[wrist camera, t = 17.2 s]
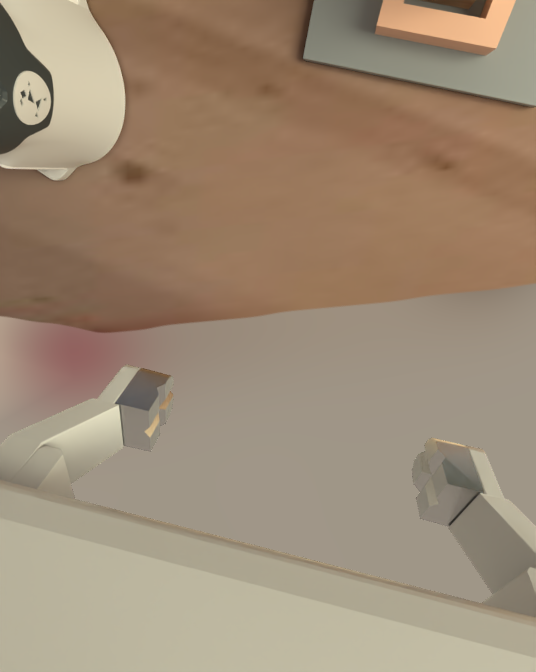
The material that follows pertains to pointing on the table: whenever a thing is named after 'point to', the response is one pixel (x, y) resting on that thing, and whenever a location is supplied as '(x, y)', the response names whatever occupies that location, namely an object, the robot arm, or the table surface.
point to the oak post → (454, 3)
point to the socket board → (432, 44)
